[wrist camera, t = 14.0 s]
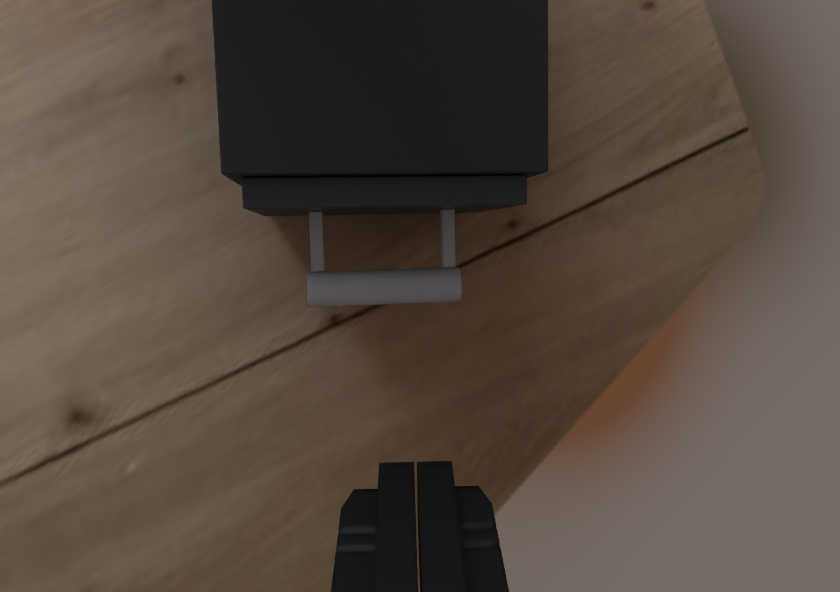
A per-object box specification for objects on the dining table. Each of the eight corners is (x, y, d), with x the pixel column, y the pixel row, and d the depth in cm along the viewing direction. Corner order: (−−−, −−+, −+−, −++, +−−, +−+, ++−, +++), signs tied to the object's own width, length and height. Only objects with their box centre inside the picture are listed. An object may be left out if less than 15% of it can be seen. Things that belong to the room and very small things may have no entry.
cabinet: (486, 190, 34) (548, 171, 24) (252, 193, 32) (221, 174, 22) (483, -88, 32) (547, -224, 23) (238, -102, 30) (197, -256, 21)
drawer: (481, 291, 33) (527, 307, 25) (267, 299, 31) (248, 319, 24) (476, -51, 31) (524, -144, 24) (250, -61, 30) (223, -166, 22)
